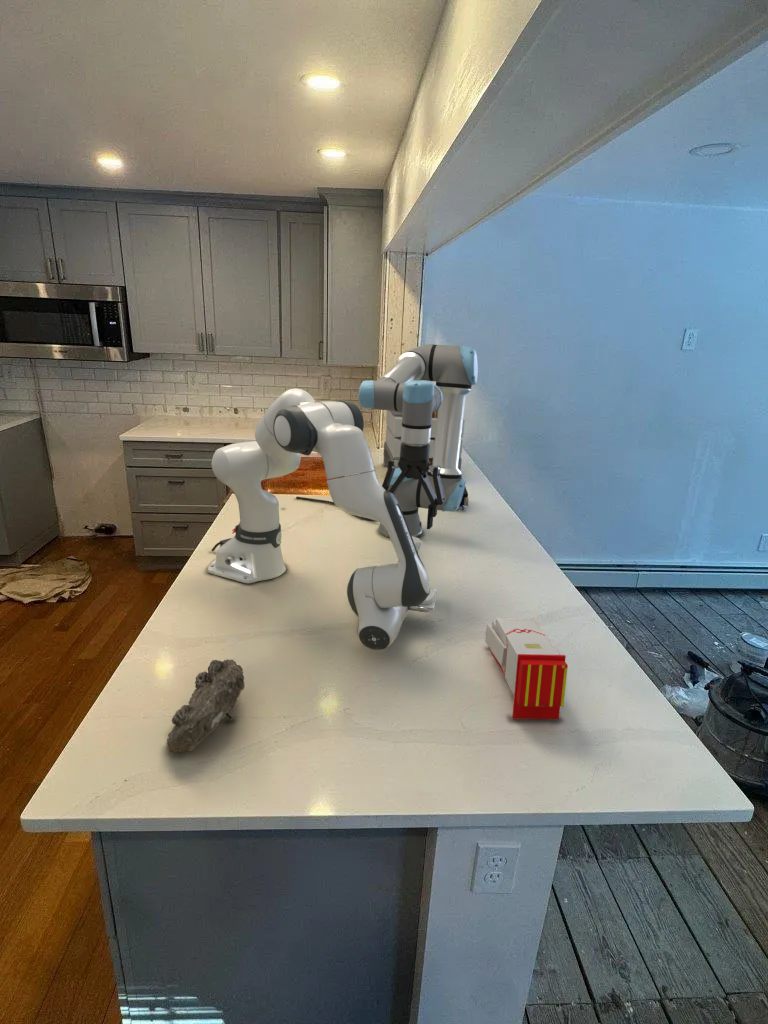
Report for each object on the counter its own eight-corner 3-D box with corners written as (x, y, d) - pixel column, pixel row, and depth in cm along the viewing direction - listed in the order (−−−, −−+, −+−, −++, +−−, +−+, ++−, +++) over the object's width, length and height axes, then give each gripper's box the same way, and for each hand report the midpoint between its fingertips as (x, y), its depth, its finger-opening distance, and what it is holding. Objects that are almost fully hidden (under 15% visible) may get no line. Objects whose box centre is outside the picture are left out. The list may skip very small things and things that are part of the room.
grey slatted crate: (382, 463, 289) (386, 382, 275) (445, 464, 293) (451, 384, 279) (390, 482, 257) (394, 392, 243) (460, 483, 261) (468, 394, 247)
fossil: (192, 660, 117) (244, 628, 112) (224, 691, 120) (276, 661, 115) (142, 746, 98) (202, 712, 93) (182, 779, 101) (242, 748, 96)
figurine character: (468, 514, 225) (463, 498, 239) (470, 497, 222) (465, 482, 235) (451, 514, 225) (447, 498, 238) (453, 497, 222) (449, 481, 235)
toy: (531, 603, 136) (576, 661, 106) (526, 655, 139) (569, 725, 109) (481, 602, 135) (512, 660, 106) (477, 654, 138) (507, 724, 109)
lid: (395, 550, 152) (396, 543, 151) (399, 542, 158) (399, 534, 157) (418, 553, 151) (419, 545, 150) (421, 544, 157) (421, 537, 156)
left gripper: (433, 600, 135) (441, 575, 148) (351, 587, 139) (366, 564, 152) (431, 623, 137) (439, 597, 150) (350, 609, 142) (365, 585, 154)
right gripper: (462, 445, 144) (455, 527, 151) (380, 435, 152) (377, 512, 159) (454, 451, 137) (446, 536, 145) (368, 440, 145) (365, 521, 153)
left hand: (402, 580), depth 151 cm, fingers open, 8 cm apart
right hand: (410, 524), depth 152 cm, fingers open, 10 cm apart
